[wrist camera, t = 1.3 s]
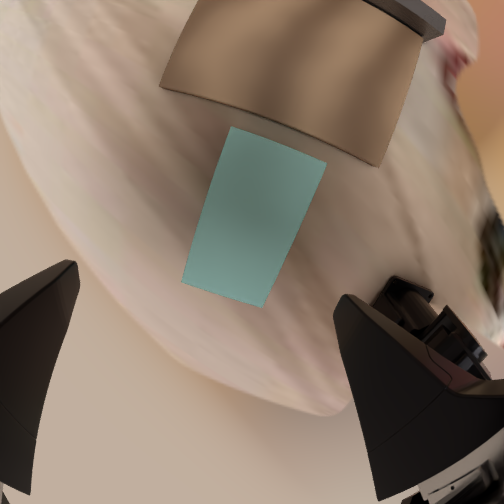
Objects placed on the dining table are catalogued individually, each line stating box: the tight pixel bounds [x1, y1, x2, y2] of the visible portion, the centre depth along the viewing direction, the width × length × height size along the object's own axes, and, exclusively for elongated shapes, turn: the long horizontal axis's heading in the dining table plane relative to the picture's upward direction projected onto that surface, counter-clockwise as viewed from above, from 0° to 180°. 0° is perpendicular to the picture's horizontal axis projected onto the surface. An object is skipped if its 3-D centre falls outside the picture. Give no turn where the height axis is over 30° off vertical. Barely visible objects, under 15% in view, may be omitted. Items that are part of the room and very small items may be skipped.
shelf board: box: [159, 0, 423, 168], centre depth 15 cm, size 17×13×1 cm
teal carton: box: [181, 126, 327, 308], centre depth 17 cm, size 5×9×7 cm, turn 160°
